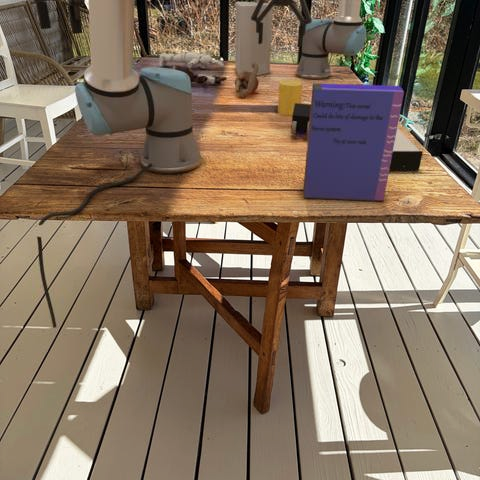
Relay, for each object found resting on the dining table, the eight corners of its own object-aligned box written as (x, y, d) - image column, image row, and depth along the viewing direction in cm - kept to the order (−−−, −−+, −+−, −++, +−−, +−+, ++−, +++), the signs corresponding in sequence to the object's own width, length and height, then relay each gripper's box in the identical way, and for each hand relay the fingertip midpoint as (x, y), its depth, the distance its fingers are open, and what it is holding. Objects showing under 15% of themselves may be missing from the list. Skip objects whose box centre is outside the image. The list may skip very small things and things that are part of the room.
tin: (287, 107, 169) (288, 79, 164) (304, 112, 164) (307, 82, 159) (273, 112, 164) (274, 82, 159) (291, 116, 159) (293, 86, 154)
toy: (179, 76, 209) (178, 59, 205) (154, 65, 226) (153, 50, 223) (226, 70, 221) (226, 54, 217) (199, 60, 238) (198, 45, 235)
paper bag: (273, 76, 210) (276, 6, 196) (239, 77, 209) (240, 6, 194) (266, 67, 226) (268, 2, 212) (235, 67, 225) (235, 1, 210)
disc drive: (349, 170, 120) (352, 151, 117) (332, 140, 139) (334, 123, 137) (418, 171, 120) (423, 152, 118) (392, 140, 140) (395, 124, 137)
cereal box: (379, 191, 109) (398, 84, 97) (383, 201, 105) (404, 90, 93) (303, 188, 110) (312, 82, 98) (304, 197, 106) (314, 88, 94)
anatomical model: (248, 99, 191) (242, 101, 177) (232, 84, 190) (225, 85, 176) (269, 75, 187) (265, 74, 173) (253, 59, 186) (248, 57, 172)
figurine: (149, 84, 182) (227, 91, 186) (149, 62, 179) (229, 70, 183) (154, 81, 204) (223, 88, 208) (154, 62, 201) (225, 69, 205)
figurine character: (312, 146, 139) (312, 125, 151) (314, 121, 134) (315, 101, 146) (289, 145, 139) (291, 123, 151) (290, 120, 135) (293, 100, 147)
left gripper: (91, -63, 113) (103, 33, 124) (29, -63, 126) (45, 25, 136) (64, -64, 108) (79, 37, 119) (2, -64, 120) (21, 27, 131)
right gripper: (243, -28, 152) (241, 43, 162) (321, -25, 146) (314, 48, 156) (249, -28, 158) (247, 40, 168) (324, -26, 152) (317, 45, 163)
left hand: (61, 31), depth 128 cm, fingers open, 13 cm apart
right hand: (279, 44), depth 162 cm, fingers open, 13 cm apart
